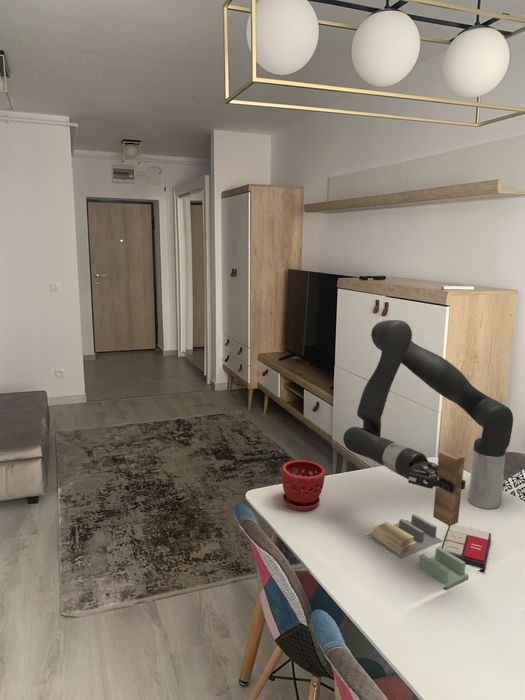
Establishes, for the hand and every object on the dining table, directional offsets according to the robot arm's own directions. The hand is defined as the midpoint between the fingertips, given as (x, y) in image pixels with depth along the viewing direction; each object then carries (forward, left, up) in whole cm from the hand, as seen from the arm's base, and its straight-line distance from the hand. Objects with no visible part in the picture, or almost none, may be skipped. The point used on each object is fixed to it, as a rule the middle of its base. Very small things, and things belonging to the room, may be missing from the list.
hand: (459, 487), depth 127 cm
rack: (-3, -18, -25) cm, 30 cm away
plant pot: (+8, -50, -25) cm, 56 cm away
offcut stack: (+1, -18, -23) cm, 29 cm away
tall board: (0, -3, -10) cm, 10 cm away
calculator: (-14, -6, -25) cm, 29 cm away
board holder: (0, -3, -25) cm, 25 cm away
